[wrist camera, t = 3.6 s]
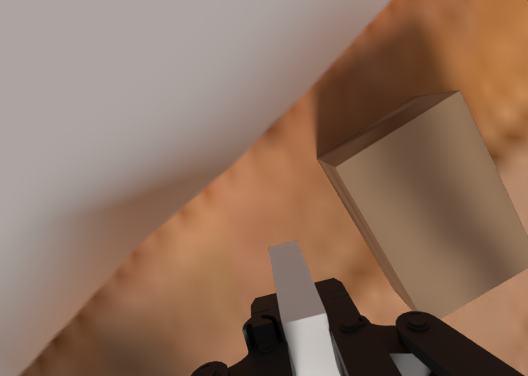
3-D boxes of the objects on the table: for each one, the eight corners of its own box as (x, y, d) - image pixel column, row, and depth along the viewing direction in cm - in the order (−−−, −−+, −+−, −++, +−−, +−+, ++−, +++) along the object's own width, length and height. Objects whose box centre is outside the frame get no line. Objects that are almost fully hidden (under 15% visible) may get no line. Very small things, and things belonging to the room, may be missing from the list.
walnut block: (392, 288, 26) (426, 326, 21) (315, 157, 24) (335, 167, 19) (482, 234, 26) (539, 261, 21) (414, 96, 23) (460, 90, 18)
